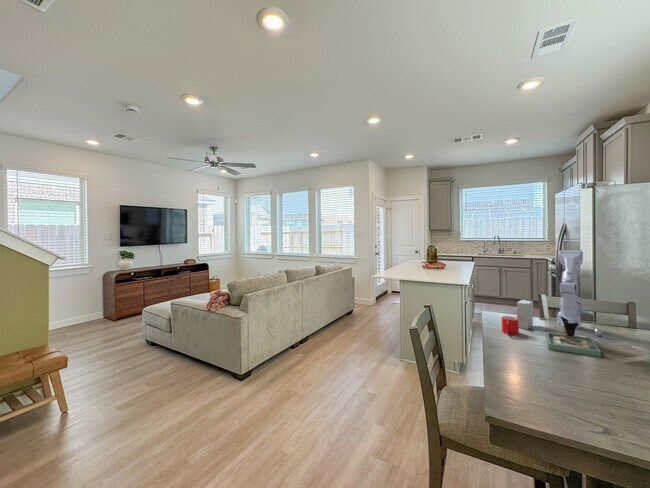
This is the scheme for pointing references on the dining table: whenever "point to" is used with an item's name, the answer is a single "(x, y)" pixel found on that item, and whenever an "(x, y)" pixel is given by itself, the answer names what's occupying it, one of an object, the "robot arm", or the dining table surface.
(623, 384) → the dining table surface
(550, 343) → the tray
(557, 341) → the tan wooden square frame
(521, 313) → the skincare box
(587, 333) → the stake board
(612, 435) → the dining table surface
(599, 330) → the stake
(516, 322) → the mug
